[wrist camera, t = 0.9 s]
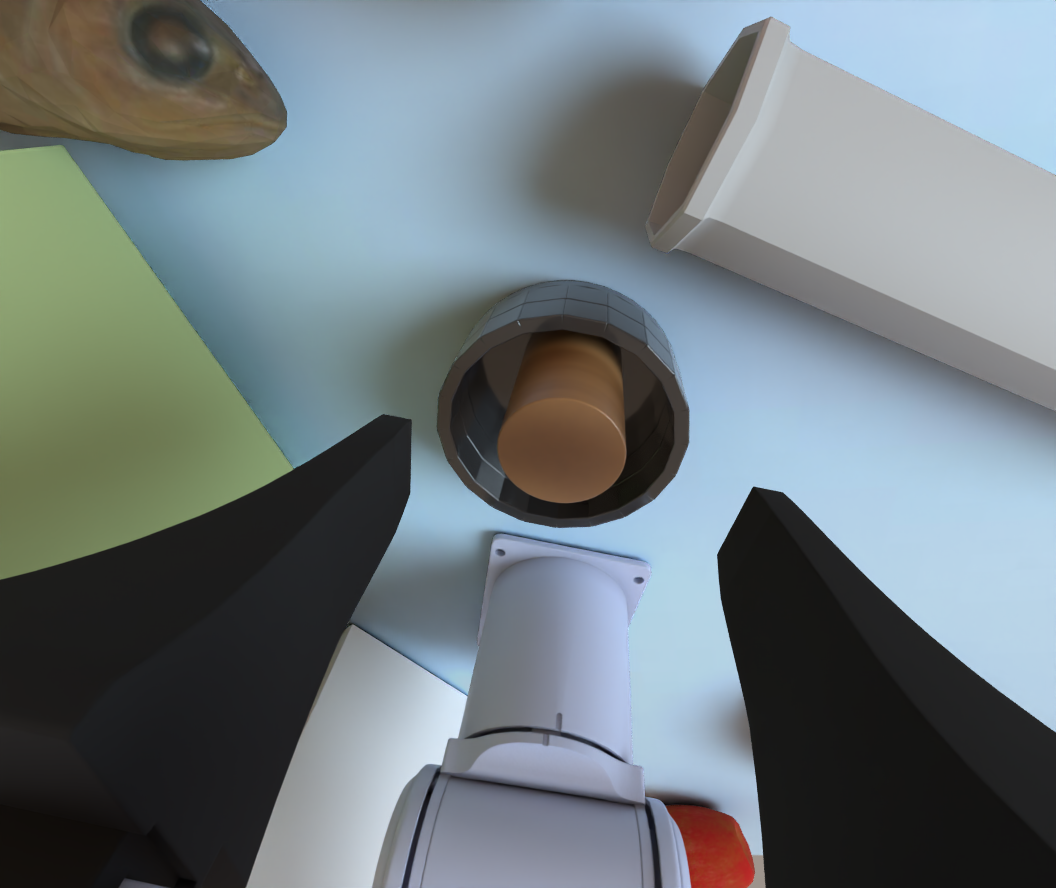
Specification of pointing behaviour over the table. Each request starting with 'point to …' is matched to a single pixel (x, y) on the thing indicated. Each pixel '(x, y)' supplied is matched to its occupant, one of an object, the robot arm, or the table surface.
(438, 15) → the table surface
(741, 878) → the apple
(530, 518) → the dark round bowl
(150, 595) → the robot arm
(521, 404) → the cork
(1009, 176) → the tube
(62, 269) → the container
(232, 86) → the fish
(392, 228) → the table surface
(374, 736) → the milk
